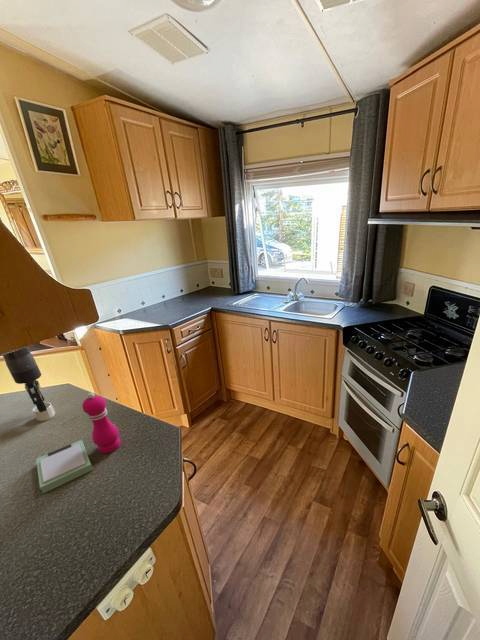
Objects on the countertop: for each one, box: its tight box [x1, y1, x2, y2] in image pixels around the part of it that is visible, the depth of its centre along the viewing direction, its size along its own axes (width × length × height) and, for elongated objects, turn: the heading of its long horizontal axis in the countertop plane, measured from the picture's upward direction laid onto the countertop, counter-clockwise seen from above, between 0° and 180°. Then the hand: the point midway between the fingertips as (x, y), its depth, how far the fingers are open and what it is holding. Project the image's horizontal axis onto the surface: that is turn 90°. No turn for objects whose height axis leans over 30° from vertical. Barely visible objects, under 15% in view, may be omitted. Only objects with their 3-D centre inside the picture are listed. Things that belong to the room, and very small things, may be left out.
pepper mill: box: [81, 392, 122, 454], centre depth 88 cm, size 7×7×20 cm
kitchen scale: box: [35, 439, 94, 494], centre depth 84 cm, size 14×12×3 cm
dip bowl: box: [31, 402, 56, 422], centre depth 108 cm, size 6×6×4 cm
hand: (42, 406), depth 106 cm, fingers open, 8 cm apart
